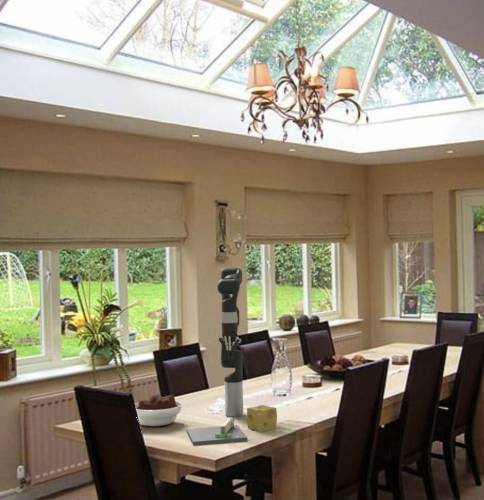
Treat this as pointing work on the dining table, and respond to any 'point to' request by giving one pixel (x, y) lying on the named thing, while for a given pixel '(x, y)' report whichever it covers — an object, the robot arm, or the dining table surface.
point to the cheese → (261, 418)
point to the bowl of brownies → (158, 410)
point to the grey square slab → (215, 435)
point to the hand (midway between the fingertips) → (230, 358)
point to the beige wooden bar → (227, 425)
